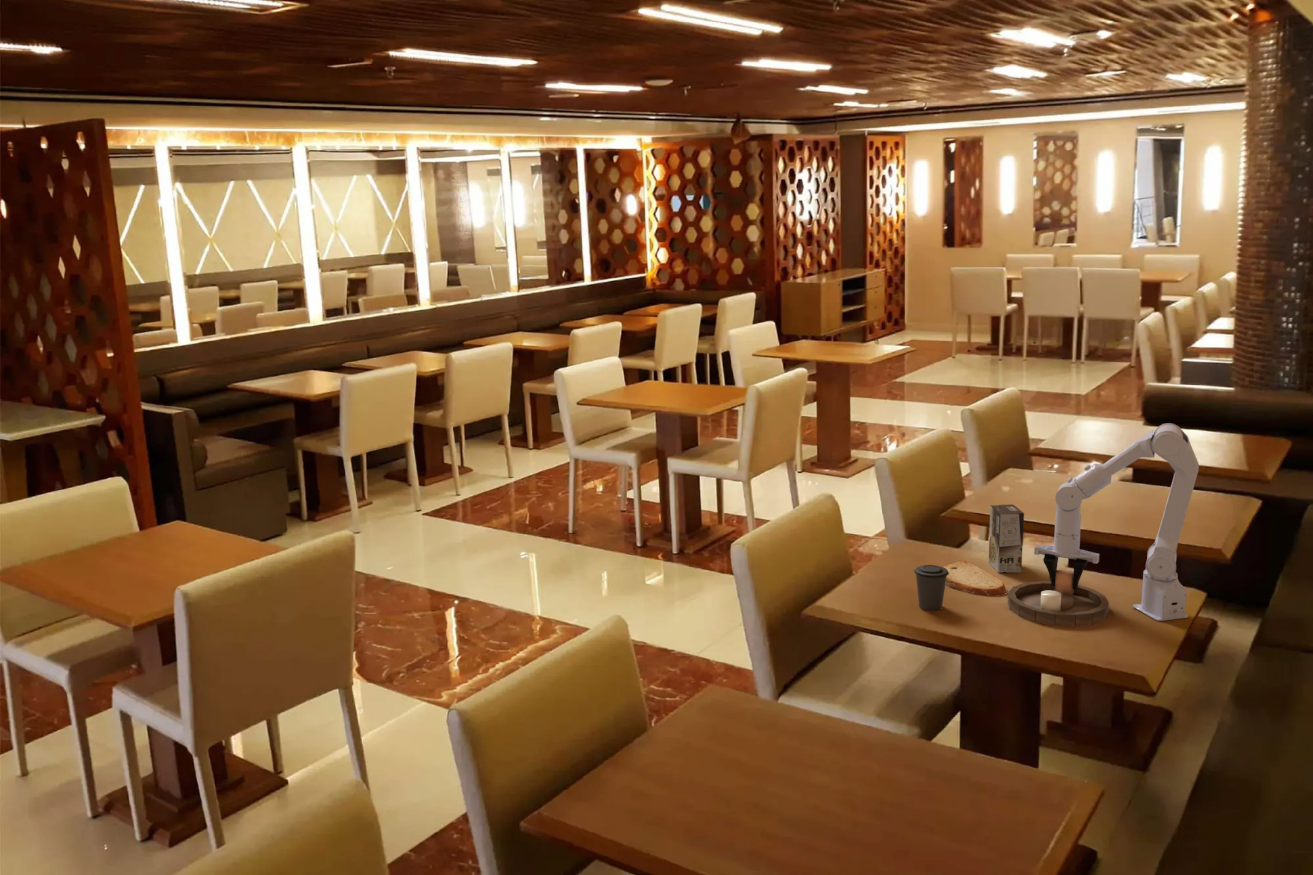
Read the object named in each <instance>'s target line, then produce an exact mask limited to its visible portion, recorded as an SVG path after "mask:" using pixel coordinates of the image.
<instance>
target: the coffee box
mask: <svg viewBox="0 0 1313 875" xmlns="http://www.w3.org/2000/svg"><path fill="white" fill-rule="evenodd" d="M989 507H990V508H989V509H990V510H989V511H990V512H989V535H988V536H989V540H988V542H989V546H988V564H990V565H991V566H992V567H993V569H994V570H995V571H996V572H997V573H1003V572H1006V573H1022V564H1023V562H1022V560H1023V544H1024V542H1023V541H1024V524H1025V523H1024V521H1025V520H1024V519H1025V513H1024V512H1023V511H1022V510H1021V509H1019V508H1018V507H1017V506H1016V505H1015V504H1011V503H1010V504H998V505H997V504H995V505H990V506H989Z"/></svg>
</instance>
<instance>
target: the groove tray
mask: <svg viewBox="0 0 1313 875" xmlns="http://www.w3.org/2000/svg"><path fill="white" fill-rule="evenodd" d="M1046 590H1052V591H1055V586H1051V580H1050V581H1049V580H1048V581H1047V580H1038V581H1029V582H1023V583H1021V584H1018V585H1017V584H1016V585H1014V586H1012V588H1010V590H1008V591H1007V605H1008V609H1009V611H1011V612H1012V613H1014V614H1015V615H1017V616H1018V617H1020V618H1022V619H1025V620H1029V621H1031V622H1034V623H1038V624H1044V625H1049V626H1056V627H1081V626H1090V625H1091V626H1092V625H1095V624H1097V623H1100V622H1103V621H1105V620H1106V618H1107V616H1108V615H1109V605H1110V602H1109V600H1108V598H1107V597H1106V595H1104V594H1102V593H1101V592H1099V591H1097V590H1096V589H1094V588H1090V587H1087V586H1083V585H1081V584H1078V588H1077V589H1076V590H1075V589H1074V594H1073V595H1068V594H1065V593H1061V610H1060V612H1054V611H1049V610H1043V609H1040V605H1041V592H1042V591H1046ZM1059 593H1060V592H1059Z"/></svg>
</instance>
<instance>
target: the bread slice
mask: <svg viewBox="0 0 1313 875" xmlns="http://www.w3.org/2000/svg"><path fill="white" fill-rule="evenodd" d="M943 567H944V568H946V569H947V570H948V572H949V574H948V575H947V576H946V583H945V587H946V586H947V587H949V588H952V589H955V590H957V591H961V592H964V593H966V594H967V593H968V594H972V595H979V596H987V597H993V596H994V597H996V595H1000V596H1004V595H1006V594H1008V590H1006V589H1007V588H1006V586H1005V584H1004V582H1003V581H1002V580H1000V579H999V578H998V577H997V576H995V575H994V574H992V573H991V572H989V571H987V570H985V569H982V568H981V567H979V566H977V565H974V564H972V563H970V562H968V561H966V560H965V561H957V562H953V563H949V564H946V565H944V566H943ZM1005 593H1006V594H1005Z"/></svg>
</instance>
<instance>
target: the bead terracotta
mask: <svg viewBox="0 0 1313 875" xmlns="http://www.w3.org/2000/svg"><path fill="white" fill-rule="evenodd" d="M1073 580H1074V570H1070V569H1057V571H1056V572H1055V591H1057V592H1060V593H1065V594H1068V595H1073V594H1074V589H1073Z"/></svg>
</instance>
